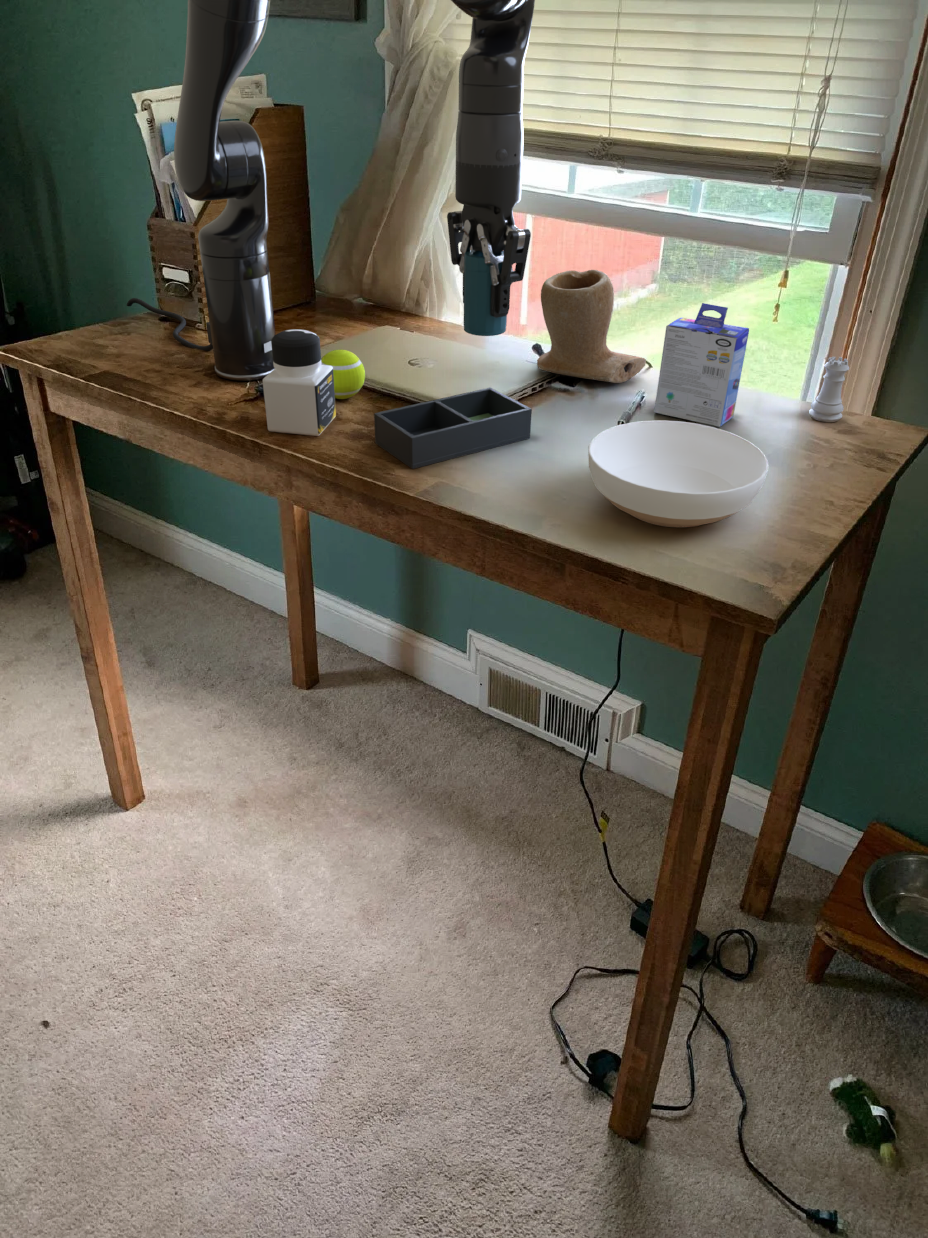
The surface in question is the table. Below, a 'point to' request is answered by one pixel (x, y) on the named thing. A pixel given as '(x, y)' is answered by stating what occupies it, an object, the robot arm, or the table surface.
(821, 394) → the rook chess piece
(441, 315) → the table surface
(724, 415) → the ink cartridge box
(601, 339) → the clay platform pipe
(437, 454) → the divided tray
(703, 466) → the bowl
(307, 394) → the medicine bottle
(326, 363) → the tennis ball
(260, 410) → the table surface
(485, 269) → the jar
